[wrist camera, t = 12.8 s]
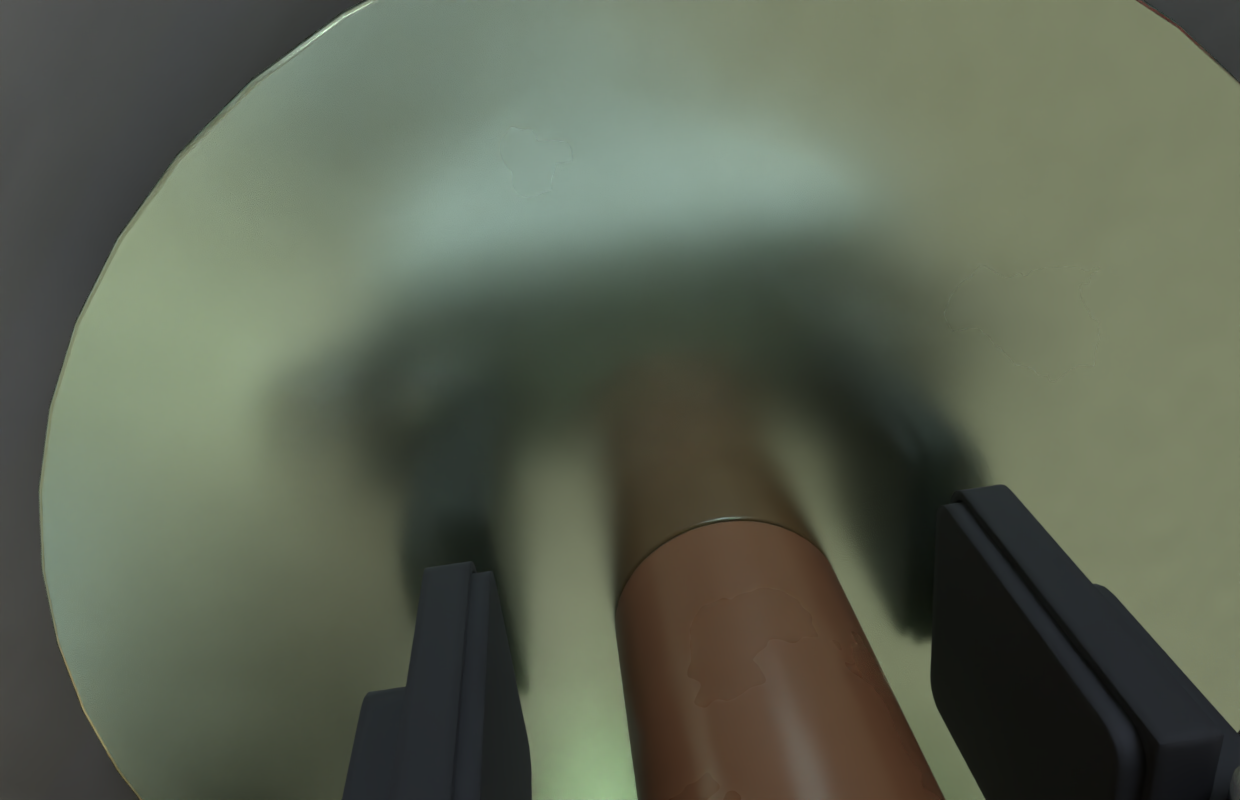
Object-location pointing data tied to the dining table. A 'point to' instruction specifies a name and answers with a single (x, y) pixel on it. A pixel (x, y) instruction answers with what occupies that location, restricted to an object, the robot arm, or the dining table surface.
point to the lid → (648, 381)
